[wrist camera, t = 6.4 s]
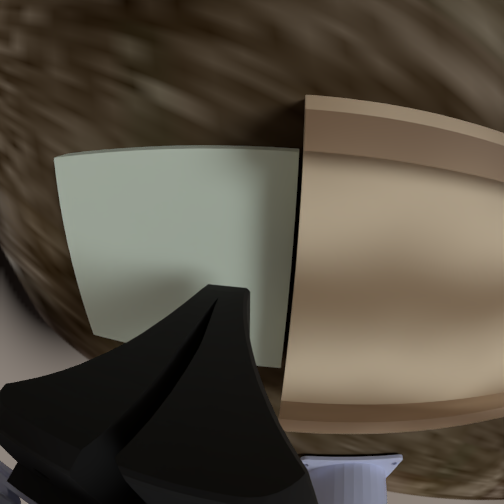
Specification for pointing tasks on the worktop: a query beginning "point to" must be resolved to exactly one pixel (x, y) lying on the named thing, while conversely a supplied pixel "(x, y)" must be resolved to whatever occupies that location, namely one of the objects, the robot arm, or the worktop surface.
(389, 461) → the robot arm
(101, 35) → the worktop surface
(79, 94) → the worktop surface
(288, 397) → the wooden box
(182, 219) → the cover plate
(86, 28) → the worktop surface
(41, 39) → the worktop surface
